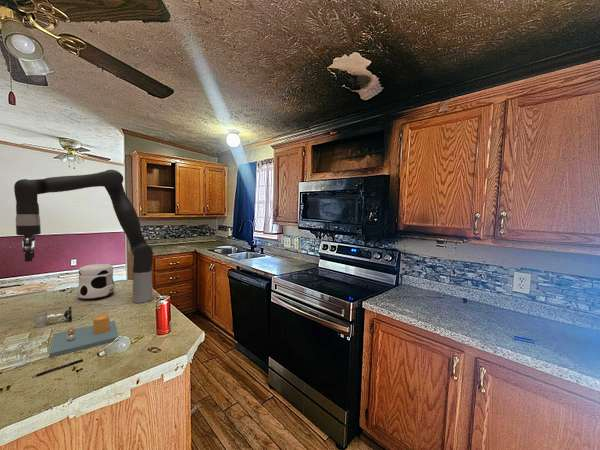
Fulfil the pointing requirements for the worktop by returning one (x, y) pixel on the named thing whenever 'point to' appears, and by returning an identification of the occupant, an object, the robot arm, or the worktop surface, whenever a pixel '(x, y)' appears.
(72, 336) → the peg
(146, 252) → the robot arm
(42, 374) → the black thin rod
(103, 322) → the cap
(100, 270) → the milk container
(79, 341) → the board
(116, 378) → the worktop surface
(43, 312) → the valve
